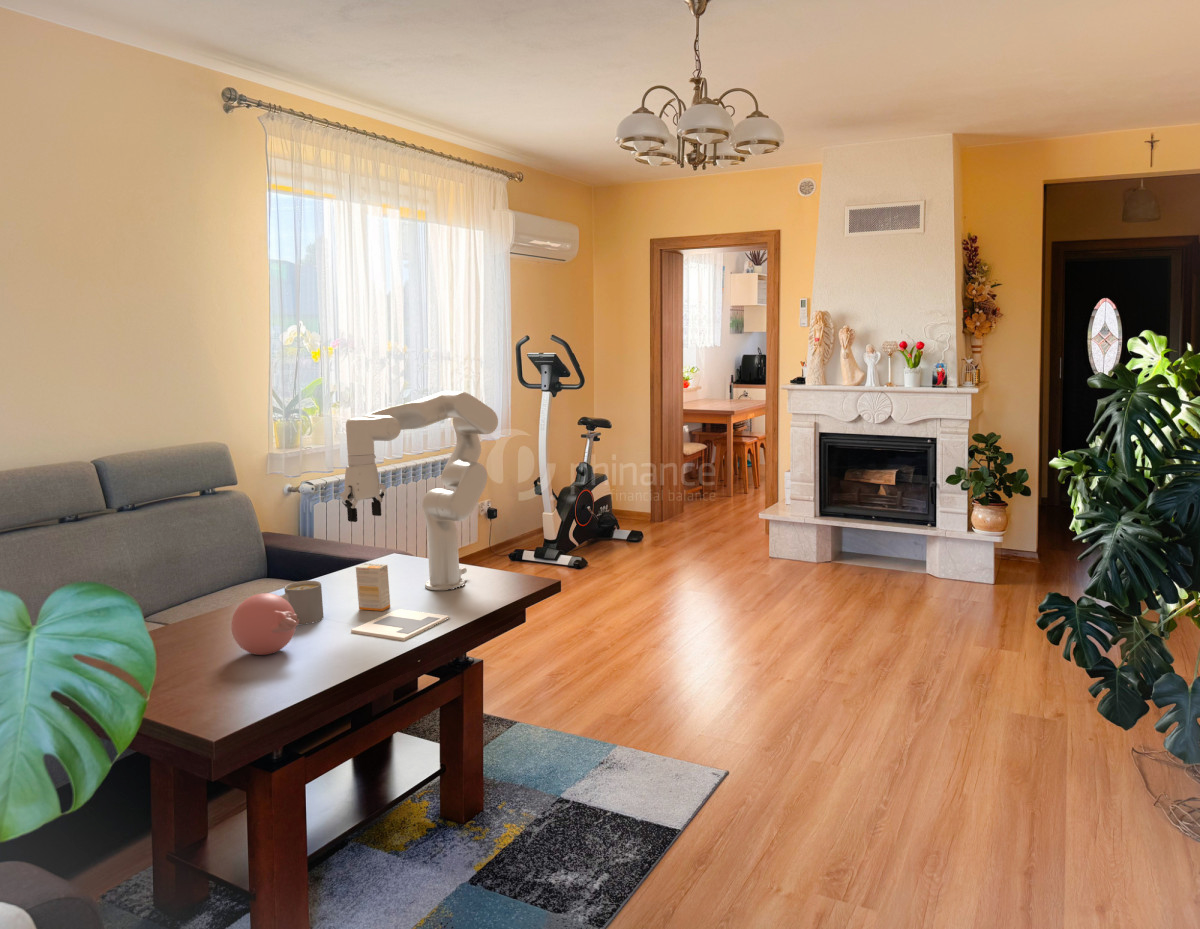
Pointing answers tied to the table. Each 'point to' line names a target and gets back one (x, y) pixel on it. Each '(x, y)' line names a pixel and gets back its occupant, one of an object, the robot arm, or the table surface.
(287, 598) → the coffee mug
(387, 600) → the supplement box
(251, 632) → the balloon
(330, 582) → the table surface
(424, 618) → the board
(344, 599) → the table surface
